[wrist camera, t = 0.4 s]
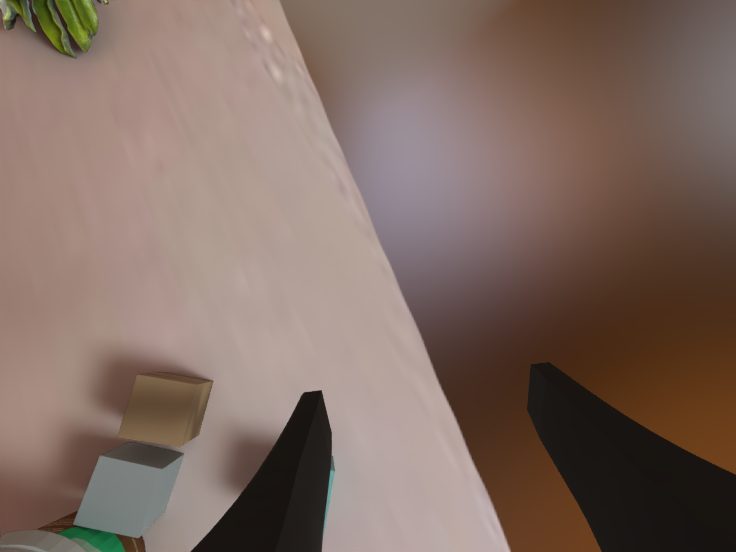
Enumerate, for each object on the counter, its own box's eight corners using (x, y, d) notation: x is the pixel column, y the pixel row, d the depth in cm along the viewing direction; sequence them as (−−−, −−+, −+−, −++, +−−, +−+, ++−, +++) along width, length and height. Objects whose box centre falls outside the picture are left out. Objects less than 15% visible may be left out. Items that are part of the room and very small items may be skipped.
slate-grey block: (165, 511, 33) (138, 538, 28) (109, 499, 33) (72, 524, 28) (184, 453, 34) (162, 469, 29) (131, 441, 34) (99, 455, 29)
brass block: (199, 434, 35) (179, 447, 30) (145, 426, 34) (116, 437, 29) (213, 381, 36) (197, 384, 31) (161, 372, 35) (136, 374, 31)
